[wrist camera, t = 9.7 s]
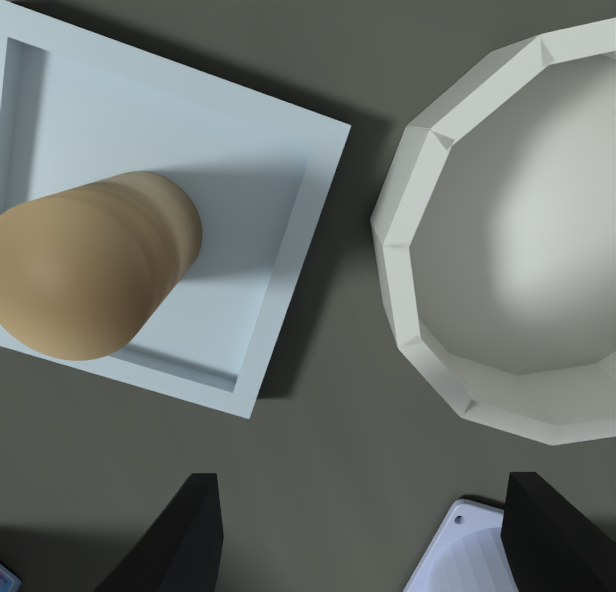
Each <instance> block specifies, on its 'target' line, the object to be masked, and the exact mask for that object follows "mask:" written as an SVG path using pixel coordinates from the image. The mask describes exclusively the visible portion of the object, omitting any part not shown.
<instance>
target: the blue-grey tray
mask: <svg viewBox="0 0 616 592" xmlns="http://www.w3.org/2000/svg"><path fill="white" fill-rule="evenodd" d="M350 128H351V125H349V124H346V123H343V122H340V121H338V120H335V119H332V118H329V117H327V116H324V115H321V114H318V113H315V112H313V111H310V110H307V109H304V108H302V107H299V106H296V105H293V104H291V103H288V102H285V101H282V100H279V99H277V98H274V97H271V96H268V95H266V94H263V93H260V92H257V91H255V90H252V89H249V88H246V87H243V86H241V85H238V84H235V83H232V82H230V81H227V80H224V79H221V78H218V77H216V76H213V75H210V74H207V73H205V72H202V71H199V70H196V69H194V68H191V67H188V66H185V65H182V64H180V63H177V62H174V61H171V60H169V59H166V58H163V57H160V56H157V55H155V54H152V53H149V52H146V51H144V50H141V49H138V48H135V47H133V46H130V45H127V44H124V43H121V42H119V41H116V40H113V39H110V38H108V37H105V36H102V35H99V34H97V33H94V32H91V31H88V30H85V29H83V28H80V27H77V26H74V25H72V24H69V23H66V22H63V21H60V20H58V19H55V18H52V17H49V16H47V15H44V14H41V13H38V12H36V11H33V10H30V9H27V8H24V7H22V6H19V5H16V4H13V3H11V2H8V1H5V0H0V215H1V214H3V213H4V212H5V211H7V210H8V209H10V208H12V207H14V206H16V205H19V204H22V203H25V202H28V201H32V200H35V199H38V198H42V197H45V196H48V195H52V194H55V193H58V192H62V191H65V190H69V189H72V188H75V187H79V186H82V185H85V184H89V183H92V182H95V181H99V180H102V179H106V178H109V177H112V176H116V175H119V174H122V173H126V172H132V171H143V172H150V173H154V174H158V175H160V176H163V177H165V178H167V179H169V180H171V181H172V182H174V183H175V184H176V185H178V186H179V187H180V188H181V189H182V190H183V191H184V192H185V193H186V194H187V195H188V196H189V197H190V199H191V200H192V202H193V203H194V205H195V207H196V209H197V211H198V214H199V217H200V220H201V224H202V243H201V248H200V251H199V254H198V256H197V258H196V260H195V262H194V263H193V264H192V266H191V267H190V268H189V270H188V271H187V272H186V273H185V275H184V276H183V277H182V278H181V280H180V281H179V282H178V283H177V285H176V286H175V287H174V288H173V290H172V291H171V292H170V293H169V294H168V296H167V297H166V298H165V299H164V301H163V302H162V303H161V304H160V306H159V307H158V308H157V309H156V311H155V312H154V313H153V314H152V316H151V317H150V318H149V319H148V321H147V322H146V323H145V324H144V326H143V327H142V328H141V329H140V331H139V332H138V333H137V334H136V335H135V337H134V338H133V339H132V340H131V341H130V342H129V343H128V344H126V345H125V346H124V347H123V348H121V349H120V350H118V351H116V352H114V353H112V354H110V355H108V356H105V357H102V358H98V359H93V360H86V361H71V360H63V359H58V358H53V357H50V356H47V355H44V354H42V353H39V352H37V351H35V350H33V349H31V348H29V347H28V346H26V345H24V344H22V343H21V342H20V341H18V340H17V339H16V338H14V337H13V336H12V335H11V334H10V333H9V332H7V331H6V330H5V329H4V328H3V327H2V325H1V324H0V346H2V347H6V348H9V349H13V350H16V351H19V352H23V353H26V354H30V355H33V356H36V357H40V358H43V359H47V360H50V361H53V362H57V363H60V364H64V365H67V366H70V367H74V368H77V369H81V370H84V371H87V372H91V373H94V374H98V375H101V376H104V377H108V378H111V379H115V380H118V381H121V382H125V383H128V384H132V385H135V386H138V387H142V388H145V389H149V390H152V391H155V392H159V393H162V394H166V395H169V396H172V397H176V398H179V399H183V400H186V401H189V402H193V403H196V404H200V405H203V406H206V407H210V408H213V409H217V410H220V411H223V412H227V413H230V414H234V415H237V416H240V417H244V418H247V419H249V418H250V415H251V412H252V409H253V407H254V404H255V401H256V398H257V395H258V392H259V389H260V386H261V384H262V381H263V378H264V375H265V372H266V369H267V366H268V363H269V361H270V358H271V355H272V352H273V349H274V346H275V343H276V340H277V338H278V335H279V332H280V329H281V326H282V323H283V320H284V317H285V315H286V312H287V309H288V306H289V303H290V300H291V297H292V294H293V292H294V289H295V286H296V283H297V280H298V277H299V274H300V271H301V269H302V266H303V263H304V260H305V257H306V254H307V251H308V248H309V246H310V243H311V240H312V237H313V234H314V231H315V228H316V225H317V223H318V220H319V217H320V214H321V211H322V208H323V205H324V202H325V200H326V197H327V194H328V191H329V188H330V185H331V182H332V179H333V177H334V174H335V171H336V168H337V165H338V162H339V159H340V156H341V154H342V151H343V148H344V145H345V142H346V139H347V136H348V133H349V131H350Z"/></svg>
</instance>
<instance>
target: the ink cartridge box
mask: <svg viewBox="0 0 616 592" xmlns="http://www.w3.org/2000/svg"><path fill="white" fill-rule="evenodd" d="M20 585H21V581H20V579H19V578H17V577H16V576H15V575H14V574H12V573H11V572H10V571H9V570H8V569H6V568H5V567H4V566H3V565H1V564H0V592H17V590H18V588H19V587H20Z"/></svg>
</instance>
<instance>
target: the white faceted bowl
mask: <svg viewBox="0 0 616 592" xmlns="http://www.w3.org/2000/svg"><path fill="white" fill-rule="evenodd" d="M370 223H371V230H372V236H373V242H374V249H375V255H376V261H377V268H378V274H379V280H380V287H381V293H382V299H383V305H384V308H385V311H386V314H387V317H388V320H389V323H390V326H391V329H392V332H393V335H394V338H395V341H396V344H397V347H398V349H399V350H400V351H401V352H402V353H403V354H404V355H405V357H406V358H407V359H408V360H409V361H410V362H411V363H412V364H413V365H414V367H415V368H416V369H417V370H418V371H419V372H420V373H421V374H422V375H423V377H424V378H425V379H426V380H427V381H428V382H429V383H430V384H431V385H432V386H433V388H434V389H435V390H436V391H437V392H438V393H439V394H440V395H441V396H442V398H443V399H444V400H445V401H446V402H447V403H448V404H449V405H450V406H451V407H452V409H453V410H454V411H455V412H456V413H457V414H458V415H459V416H460V417H461V418H464V419H467V420H471V421H474V422H477V423H480V424H484V425H487V426H490V427H493V428H497V429H500V430H503V431H506V432H510V433H513V434H516V435H519V436H523V437H526V438H529V439H532V440H536V441H539V442H542V443H545V444H549V445H559V444H566V443H573V442H580V441H587V440H594V439H601V438H608V437H614V436H616V18H612V19H608V20H603V21H599V22H594V23H589V24H585V25H580V26H576V27H571V28H567V29H562V30H558V31H553V32H549V33H544V34H540V35H537V36H534V37H532V38H529V39H526V40H523V41H520V42H518V43H515V44H512V45H509V46H507V47H504V48H501V49H498V50H495V51H493V52H490V53H489V54H488V55H487V56H485V57H484V58H483V59H482V60H481V61H480V62H479V63H477V64H476V65H475V66H474V67H473V68H472V69H471V70H469V71H468V72H467V73H466V74H465V75H464V76H463V77H461V78H460V79H459V80H458V81H457V82H456V83H455V84H453V85H452V86H451V87H450V88H449V89H448V90H447V91H445V92H444V93H443V94H442V95H441V96H440V97H439V98H437V99H436V100H435V101H434V102H433V103H432V104H431V105H429V106H428V107H427V108H426V109H425V110H424V111H423V112H421V113H420V114H419V115H418V116H417V117H416V118H415V119H413V120H412V121H411V122H410V123H409V124H408V125H407V127H406V128H405V130H404V133H403V135H402V138H401V141H400V143H399V146H398V148H397V151H396V153H395V156H394V159H393V161H392V164H391V166H390V169H389V172H388V174H387V177H386V179H385V182H384V185H383V187H382V190H381V192H380V195H379V197H378V200H377V203H376V205H375V208H374V210H373V213H372V216H371V218H370Z"/></svg>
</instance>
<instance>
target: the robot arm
mask: <svg viewBox="0 0 616 592" xmlns="http://www.w3.org/2000/svg"><path fill="white" fill-rule="evenodd" d="M457 516H461V517H459V518H456V517H457ZM223 538H224V535H223V526H222V517H221V508H220V499H219V490H218V482H217V473H192V474H191V475H190V476H189V477H188V478H187V480H186V481H185V482H184V484H183V485H182V486H181V488H180V489H179V490H178V492H177V493H176V494H175V496H174V497H173V498H172V500H171V501H170V502H169V504H168V505H167V506H166V508H165V509H164V510H163V511H162V513H161V514H160V515H159V517H158V518H157V519H156V520H155V521H154V523H153V524H152V525H151V526H150V527H149V529H148V530H147V531H146V532H145V534H144V535H143V536H142V537H141V538H140V540H139V541H138V542H137V543H136V544H135V545H134V547H133V548H132V549H131V550H130V551H129V552H128V553H127V554H126V556H125V557H124V558H123V559H122V560H121V561H120V562H119V563H118V564H117V565H116V567H115V568H114V569H113V570H112V571H111V572H110V573H109V574H108V575H107V576H106V577H105V578H104V580H103V581H102V582H101V583H100V584H99V585H98V586H97V587H96V588H95V589H94V590H93V591H92V592H214V589H215V585H216V581H217V576H218V570H219V564H220V557H221V551H222V544H223ZM403 592H616V543H615V542H614V541H613V540H612V539H610V538H609V537H608V536H607V535H606V534H605V533H603V532H602V531H601V530H600V529H599V528H598V527H596V526H595V525H594V524H593V523H592V522H591V521H590V520H588V519H587V518H586V517H585V516H584V515H583V514H582V513H581V512H579V511H578V510H577V509H576V508H575V507H574V506H573V505H572V504H571V503H569V502H568V501H567V500H566V499H565V498H564V497H563V496H562V495H561V494H560V493H558V492H557V491H556V490H555V489H554V488H553V487H552V486H551V485H550V484H548V483H547V482H546V481H545V480H544V479H543V478H542V477H541V476H539V475H538V474H537V473H536V472H510V475H509V482H508V488H507V495H506V501H505V508H504V510H501V509H498V508H495V507H491V506H488V505H484V504H481V503H477V502H474V501H470V500H467V499H459V500H457V501H455V502H454V503H453V505H452V506H451V508H450V510H449V512H448V513H447V515H446V517H445V519H444V520H443V522H442V524H441V526H440V527H439V529H438V531H437V533H436V534H435V536H434V538H433V540H432V541H431V543H430V545H429V547H428V548H427V550H426V552H425V554H424V555H423V557H422V559H421V561H420V562H419V564H418V566H417V568H416V569H415V571H414V573H413V575H412V576H411V578H410V580H409V582H408V583H407V585H406V587H405V589H404V590H403Z"/></svg>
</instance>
